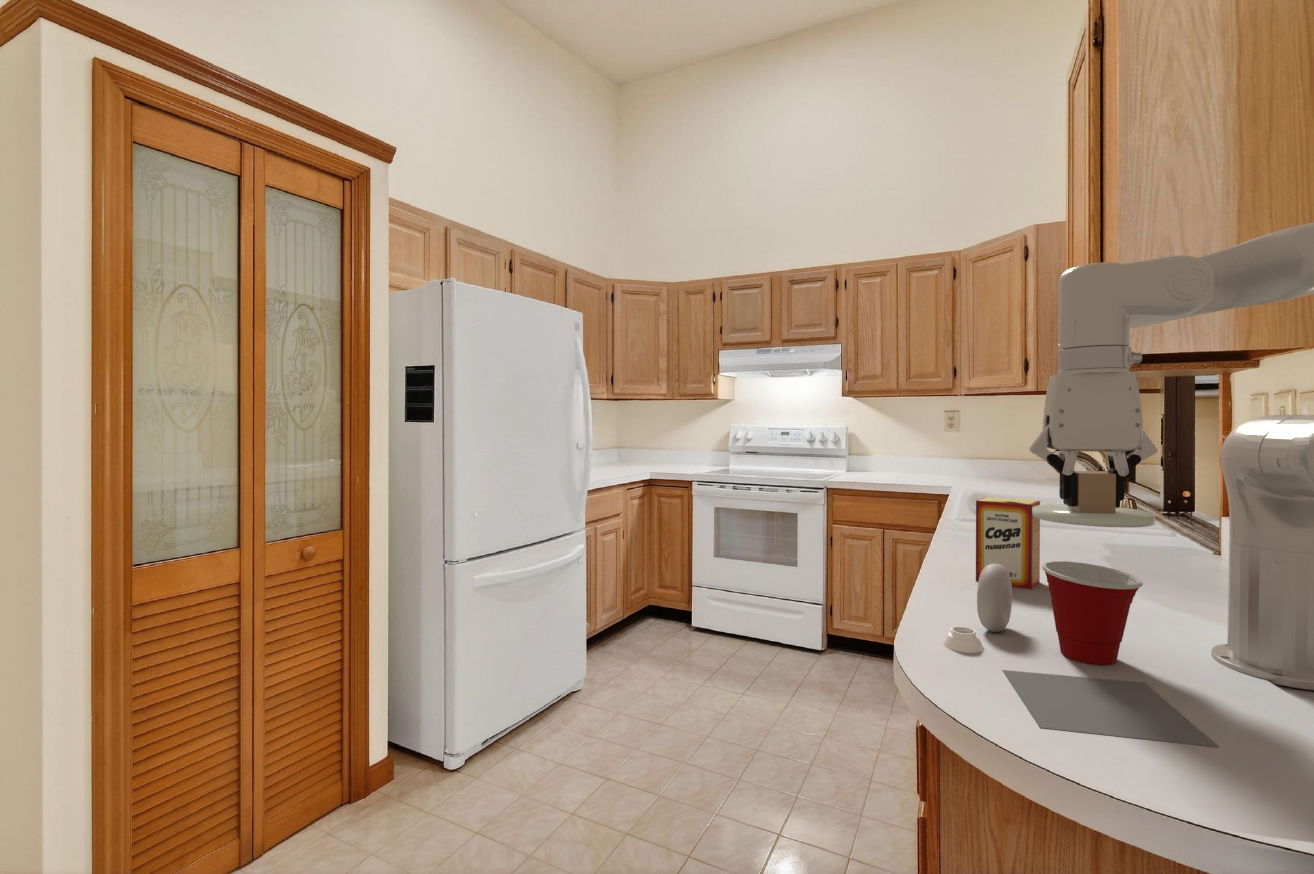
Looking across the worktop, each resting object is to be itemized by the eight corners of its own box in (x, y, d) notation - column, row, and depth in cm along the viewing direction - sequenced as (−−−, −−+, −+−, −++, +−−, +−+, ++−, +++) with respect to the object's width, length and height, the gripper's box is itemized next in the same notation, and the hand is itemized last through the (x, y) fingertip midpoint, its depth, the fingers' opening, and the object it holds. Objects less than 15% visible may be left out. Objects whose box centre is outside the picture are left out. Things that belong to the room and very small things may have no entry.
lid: (1127, 513, 86) (1127, 468, 86) (1176, 529, 73) (1177, 477, 73) (1020, 510, 89) (1020, 467, 89) (1050, 525, 77) (1050, 476, 77)
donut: (989, 619, 99) (989, 556, 99) (1014, 624, 97) (1014, 559, 96) (973, 637, 91) (974, 568, 91) (1000, 642, 89) (1000, 572, 89)
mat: (1144, 687, 74) (1144, 682, 74) (1219, 753, 59) (1219, 747, 59) (1002, 674, 78) (1002, 669, 78) (1040, 733, 64) (1040, 727, 64)
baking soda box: (975, 581, 122) (975, 498, 122) (985, 574, 127) (985, 495, 126) (1031, 589, 116) (1032, 502, 115) (1039, 582, 121) (1040, 499, 120)
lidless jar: (969, 644, 89) (935, 645, 89) (969, 623, 89) (935, 625, 88) (991, 657, 84) (956, 659, 84) (992, 635, 84) (956, 637, 83)
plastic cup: (1132, 686, 74) (1133, 585, 74) (1030, 661, 82) (1030, 569, 82) (1150, 661, 82) (1151, 569, 81) (1054, 640, 90) (1055, 556, 89)
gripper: (1155, 363, 82) (1153, 503, 83) (1011, 367, 87) (1010, 500, 87) (1186, 358, 75) (1183, 512, 75) (1027, 363, 79) (1026, 508, 80)
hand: (1090, 504), depth 81 cm, fingers closed on lid, 4 cm apart
